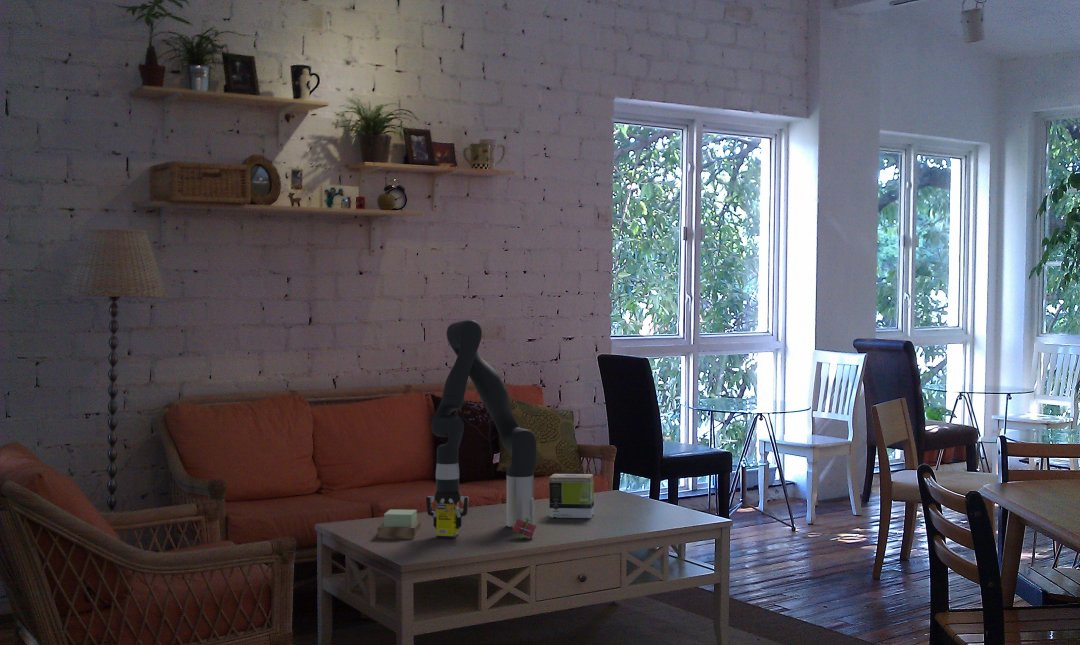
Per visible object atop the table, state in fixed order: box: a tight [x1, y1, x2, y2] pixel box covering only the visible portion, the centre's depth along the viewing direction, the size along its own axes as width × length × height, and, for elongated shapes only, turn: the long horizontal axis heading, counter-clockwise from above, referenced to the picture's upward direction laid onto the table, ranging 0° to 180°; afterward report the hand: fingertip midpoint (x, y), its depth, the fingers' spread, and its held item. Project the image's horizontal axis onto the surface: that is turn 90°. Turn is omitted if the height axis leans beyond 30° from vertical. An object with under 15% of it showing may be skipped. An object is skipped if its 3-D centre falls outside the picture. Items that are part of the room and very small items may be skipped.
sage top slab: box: [383, 508, 418, 527], centre depth 353 cm, size 9×9×4 cm
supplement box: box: [436, 502, 460, 539], centre depth 350 cm, size 6×6×11 cm
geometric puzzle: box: [512, 518, 537, 540], centre depth 347 cm, size 7×7×8 cm
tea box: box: [548, 473, 595, 519], centre depth 387 cm, size 15×10×15 cm
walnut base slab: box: [376, 520, 422, 540], centre depth 353 cm, size 12×12×4 cm
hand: (447, 528), depth 350 cm, fingers closed on supplement box, 6 cm apart
